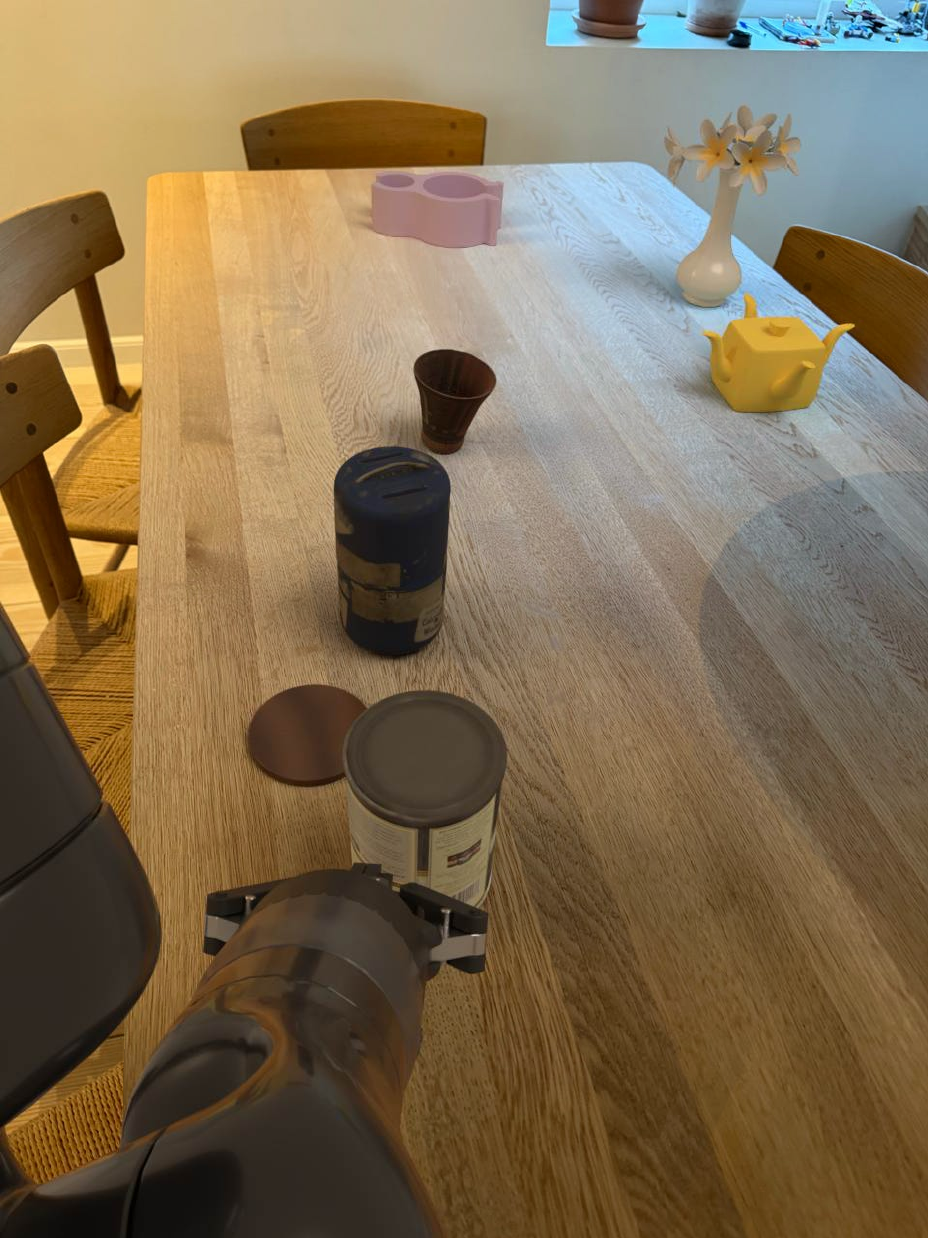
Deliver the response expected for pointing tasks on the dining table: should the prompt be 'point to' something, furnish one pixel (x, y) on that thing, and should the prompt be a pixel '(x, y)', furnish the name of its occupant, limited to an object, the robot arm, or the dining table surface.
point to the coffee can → (426, 791)
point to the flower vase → (727, 194)
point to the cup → (450, 395)
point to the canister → (391, 547)
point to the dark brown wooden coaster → (304, 734)
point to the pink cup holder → (437, 207)
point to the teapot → (769, 361)
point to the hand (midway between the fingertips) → (366, 882)
